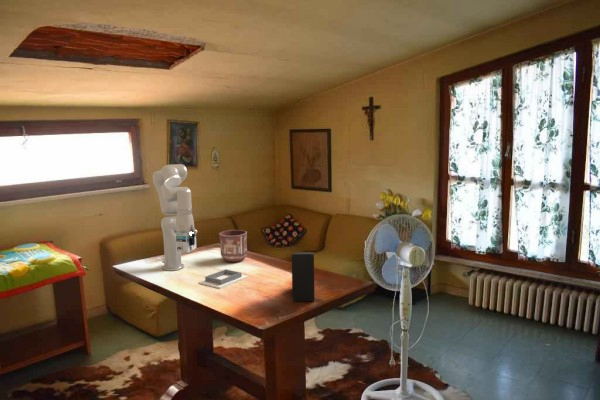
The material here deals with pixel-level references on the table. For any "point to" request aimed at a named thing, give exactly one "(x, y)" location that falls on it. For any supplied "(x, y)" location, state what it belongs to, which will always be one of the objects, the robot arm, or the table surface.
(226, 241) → the pottery
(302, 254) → the bookend
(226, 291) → the table surface
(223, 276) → the dock board
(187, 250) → the light bulb box
